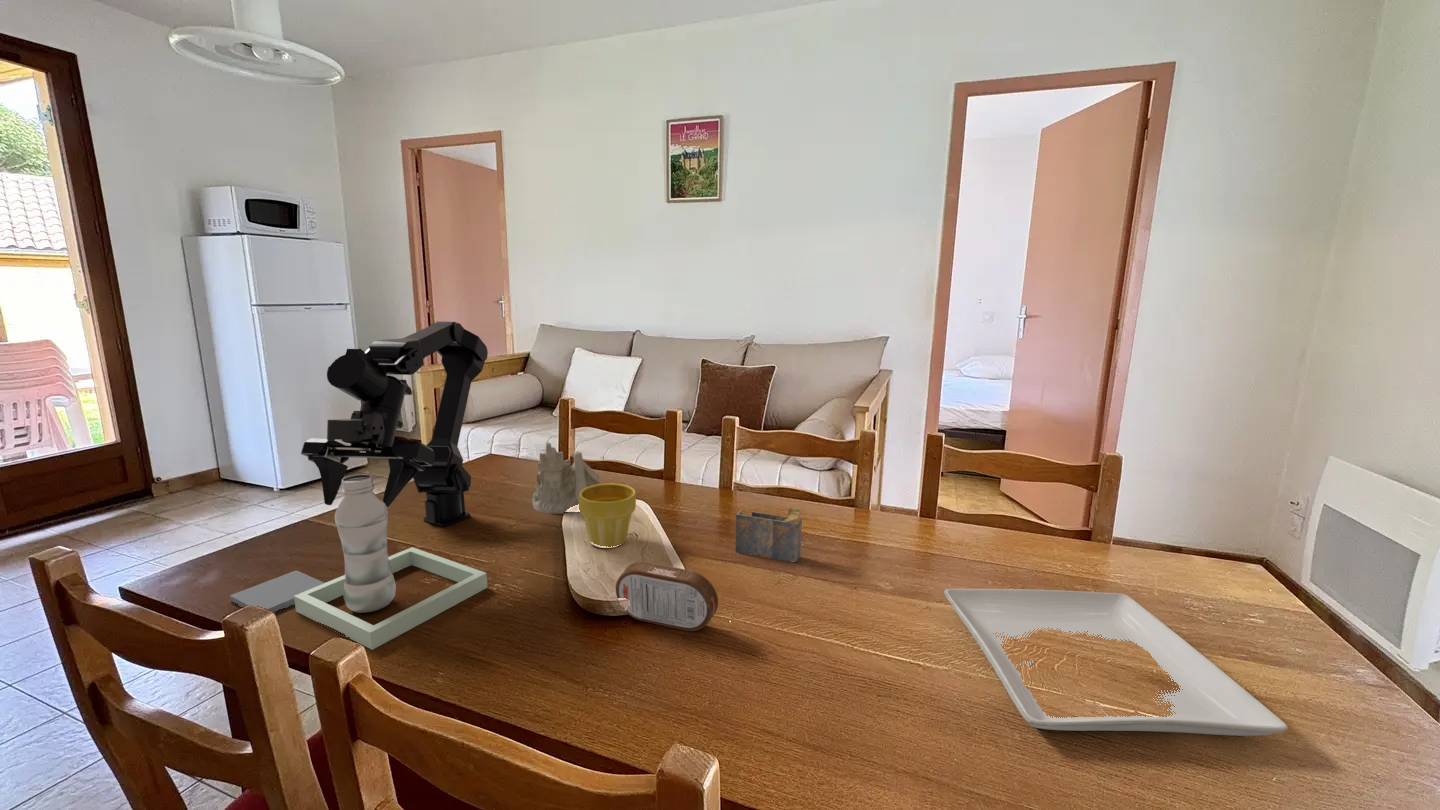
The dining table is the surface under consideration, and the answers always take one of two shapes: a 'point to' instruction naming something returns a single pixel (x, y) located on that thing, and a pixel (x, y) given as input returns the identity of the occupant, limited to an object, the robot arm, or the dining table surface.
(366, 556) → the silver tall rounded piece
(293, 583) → the rubber mat
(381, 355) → the robot arm
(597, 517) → the plant pot
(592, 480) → the ceramic cottage
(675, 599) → the tin
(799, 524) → the mottled blue bin
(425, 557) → the empty rectangular frame
